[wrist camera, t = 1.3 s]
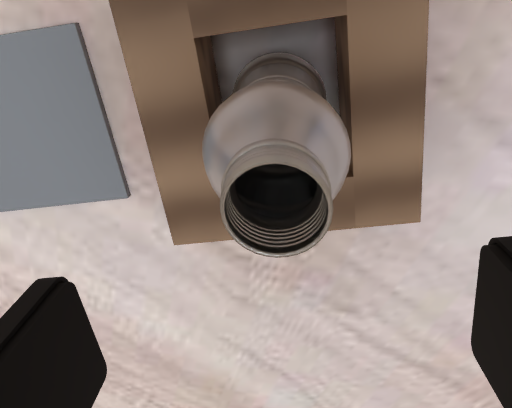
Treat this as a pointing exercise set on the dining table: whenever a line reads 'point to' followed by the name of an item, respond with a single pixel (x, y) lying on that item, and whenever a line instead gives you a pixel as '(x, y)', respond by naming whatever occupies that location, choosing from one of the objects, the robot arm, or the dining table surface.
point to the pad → (53, 124)
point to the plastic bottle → (276, 156)
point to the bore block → (349, 86)
